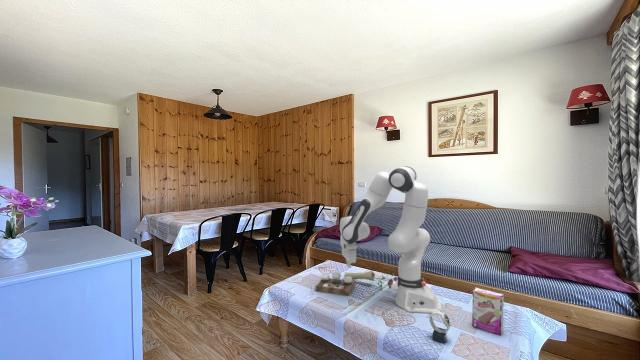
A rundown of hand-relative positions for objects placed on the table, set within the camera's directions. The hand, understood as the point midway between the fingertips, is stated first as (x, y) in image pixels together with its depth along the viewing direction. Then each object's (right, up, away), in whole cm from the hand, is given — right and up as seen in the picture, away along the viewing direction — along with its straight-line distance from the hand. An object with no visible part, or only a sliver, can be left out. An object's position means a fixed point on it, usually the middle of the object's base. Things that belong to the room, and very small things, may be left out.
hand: (348, 266), depth 166 cm
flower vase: (+13, -13, +4) cm, 19 cm away
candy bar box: (+56, -14, -43) cm, 72 cm away
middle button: (-7, -7, +3) cm, 11 cm away
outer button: (-14, -9, +5) cm, 17 cm away
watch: (+33, -15, -49) cm, 61 cm away
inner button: (-1, -9, +1) cm, 9 cm away
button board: (-8, -14, +1) cm, 16 cm away
